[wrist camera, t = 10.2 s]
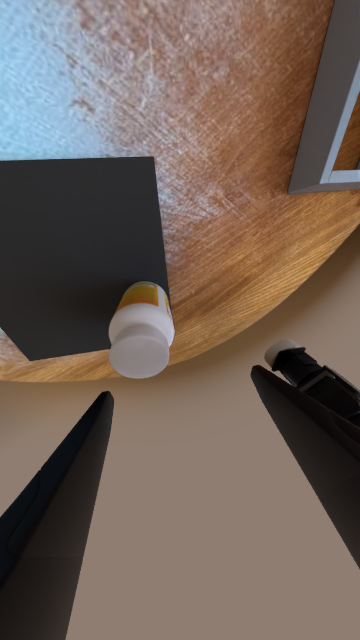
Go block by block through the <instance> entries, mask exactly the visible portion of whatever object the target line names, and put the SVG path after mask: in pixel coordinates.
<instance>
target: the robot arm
mask: <svg viewBox="0 0 360 640" xmlns="http://www.w3.org/2000/svg"><path fill="white" fill-rule="evenodd" d="M305 350H306V348H305V347H299V348H294V349H288V350H282V351H279V352H278V354H277V356H276V359H275V361H274V364H273V366H272V369H271V370H272V371H273V372H275V371H280V372H281V374H282V375H284V377H285V378H286V379H287V380H288V381H289V382H290V383H291V384H292V385H290V384H289V383H287V382H286V381H284V380H282V379H281V378H279V377H278V376H276V375H275V374H273V373H271V372H270V371H268V370H267V369H265V368H264V367H262V366H260V365H256V366H253V367H252V371H251V378H252V381H253V383H254V385H255V387H256V389H257V391H258V393H259V396H260V398H261V400H262V402H263V404H264V405H265V407H266V409H267V410H268V412H269V414H270V416H271V417H272V419H273V421H274V423H275V424H276V426H277V428H278V429H279V431H280V433H281V435H282V436H283V438H284V440H285V442H286V443H287V445H288V447H289V448H290V450H291V452H292V453H293V455H294V457H295V459H296V460H297V462H298V464H299V465H300V467H301V469H302V470H303V472H304V474H305V476H306V478H307V479H308V481H309V483H310V484H311V486H312V488H313V490H314V491H315V493H316V495H317V496H318V498H319V500H320V502H321V503H322V505H323V507H324V509H325V510H326V512H327V514H328V516H329V517H330V519H331V521H332V522H333V524H334V526H335V528H336V529H337V531H338V533H339V534H340V536H341V538H342V540H343V541H344V543H345V544H346V546H347V548H348V550H349V552H350V553H351V555H352V557H353V558H354V560H355V562H356V564H357V565H358V567H359V569H360V391H359V390H358V389H357V388H356V387H354V385H352V384H351V383H350V382H349V381H348V380H346V379H345V378H344V377H342V376H341V375H340V374H338V373H337V372H336V371H334V370H332V369H331V368H329V367H327V366H326V365H324V366H323V367H321V366H320V365H318V364H317V361H316V360H314V359H313V358H312V357H310V356H309V355H308V354H307V353H305ZM333 377H335V378H333ZM113 407H114V398H113V396H112V395H111V393H110V392H109V391H105V392H102V393H101V394H100V395H99V396H98V397H97V399H96V400H95V401H94V402H93V404H92V405H91V406H90V407H89V409H88V410H87V411H86V412H85V414H84V415H83V416H82V417H81V419H80V420H79V421H78V422H77V424H76V425H75V426H74V427H73V429H72V430H71V431H70V433H69V434H68V435H67V436H66V438H65V439H64V440H63V441H62V443H61V444H60V445H59V446H58V447H57V449H56V450H55V451H54V453H53V454H52V455H51V456H50V457H49V459H48V460H47V461H46V462H45V464H44V465H43V466H42V467H41V470H39V471H38V472H37V474H36V475H35V476H34V477H33V479H32V480H31V481H30V483H29V484H28V485H27V486H26V487H25V489H24V490H23V491H22V492H21V493H20V495H19V496H18V497H17V498H16V499H15V501H14V502H13V503H12V504H11V505H10V506H9V508H8V509H7V510H6V511H5V512H4V513H3V515H2V516H1V517H0V640H65V639H66V634H67V630H68V625H69V621H70V616H71V611H72V606H73V602H74V597H75V593H76V588H77V584H78V579H79V575H80V570H81V565H82V561H83V556H84V551H85V547H86V542H87V537H88V533H89V528H90V523H91V519H92V515H93V510H94V505H95V501H96V496H97V491H98V487H99V482H100V478H101V473H102V469H103V464H104V460H105V455H106V450H107V446H108V441H109V437H110V431H111V424H112V416H113Z"/></svg>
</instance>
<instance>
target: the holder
mask: <svg viewBox="0 0 360 640" xmlns="http://www.w3.org/2000/svg"><path fill="white" fill-rule="evenodd" d="M359 91H360V0H335V2H334V6H333V10H332V14H331V18H330V22H329V26H328V30H327V34H326V38H325V43H324V47H323V51H322V55H321V59H320V63H319V67H318V71H317V75H316V79H315V83H314V87H313V91H312V95H311V99H310V103H309V108H308V112H307V116H306V120H305V124H304V128H303V132H302V136H301V140H300V144H299V148H298V152H297V156H296V160H295V164H294V168H293V173H292V177H291V181H290V185H289V189H288V194H290V193H307V192H324V191H342V190H355V189H359V188H360V161H359V164H358V166H357V168H356V170H339V171H332V168H333V165H334V163H335V160H336V157H337V154H338V151H339V148H340V145H341V142H342V139H343V137H344V134H345V131H346V128H347V125H348V122H349V119H350V116H351V114H352V111H353V108H354V105H355V102H356V99H357V96H358V93H359Z"/></svg>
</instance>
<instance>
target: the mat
mask: <svg viewBox="0 0 360 640" xmlns="http://www.w3.org/2000/svg"><path fill="white" fill-rule="evenodd" d="M138 282H151V283H154V284H157V285H158V286H160V287H161V288H162V289H163V290H164V292H165V293H166V295H167V298H168V301H169V306H170V311H171V305H170V296H169V288H168V279H167V270H166V261H165V252H164V244H163V235H162V226H161V217H160V208H159V200H158V191H157V182H156V173H155V165H154V157H118V158H83V159H47V160H11V161H0V328H1V329H2V330H3V331H4V332H5V333H6V334H7V335H8V337H9V338H10V339H11V340H12V341H13V342H14V343H15V345H16V346H17V347H18V348H19V349H20V350H21V351H22V353H23V354H24V355H25V356H26V357H27V358H28V359H29V361H34V360H40V359H47V358H53V357H60V356H66V355H73V354H79V353H86V352H92V351H99V350H106V349H111V346H112V344H111V341H110V338H109V326H110V323H111V320H112V318H113V316H114V314H115V312H116V310H117V308H118V306H119V304H120V302H121V300H122V297H123V295H124V293H125V292H126V290H127V289H128V288H129V287H130V286H132V285H133V284H135V283H138ZM171 315H172V314H171ZM173 339H174V338H173Z"/></svg>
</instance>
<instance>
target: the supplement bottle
mask: <svg viewBox="0 0 360 640" xmlns="http://www.w3.org/2000/svg"><path fill="white" fill-rule="evenodd" d="M109 338H110V341H111V344H112V346H111V349H110V352H109V362H110V365H111V366H112V368H113V369H114V370H115V371H116V372H118V373H119V374H121V375H123V376H126V377H129V378H148V377H151V376H154V375H156V374H158V373H160V372H161V371H162V370H163V369H164V368H165V367H166V366H167V364H168V362H169V347H170V345H171V344H172V341H173V338H174V325H173V320H172V315H171V311H170V306H169V301H168V298H167V295H166V293H165V292H164V290H163V289H162V288H161V287H160V286H158V285H157V284H154V283H151V282H138V283H135V284H133V285H132V286H130V287H129V288H128V289H127V290H126V292H125V293H124V295H123V297H122V300H121V302H120V304H119V306H118V308H117V310H116V312H115V314H114V316H113V318H112V320H111V323H110V326H109Z"/></svg>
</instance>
